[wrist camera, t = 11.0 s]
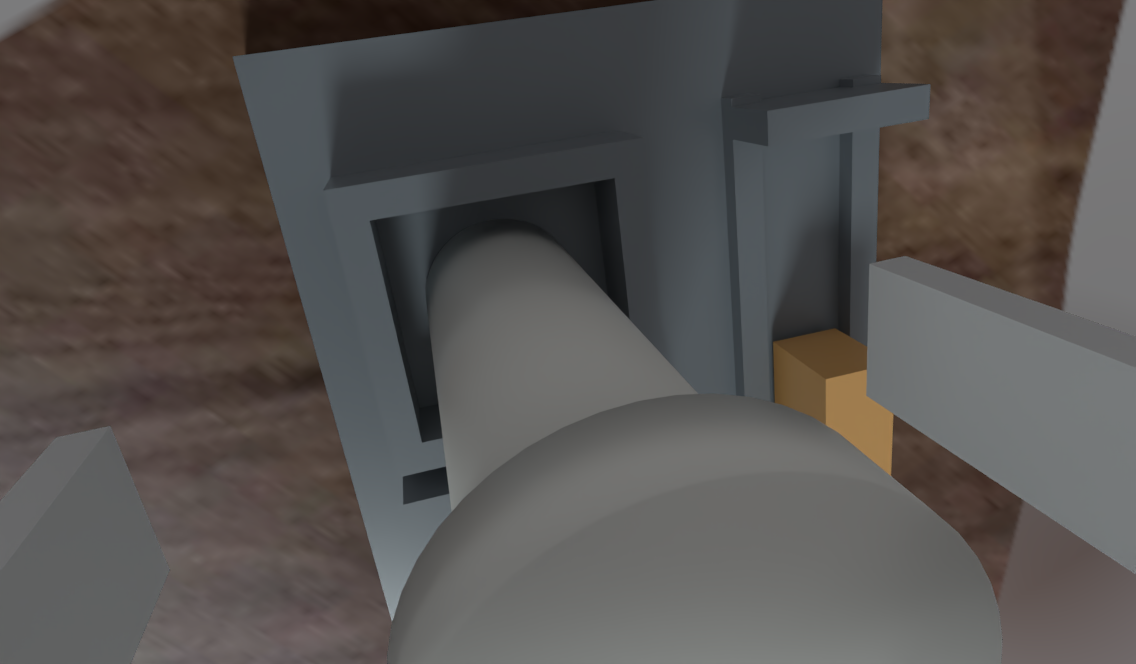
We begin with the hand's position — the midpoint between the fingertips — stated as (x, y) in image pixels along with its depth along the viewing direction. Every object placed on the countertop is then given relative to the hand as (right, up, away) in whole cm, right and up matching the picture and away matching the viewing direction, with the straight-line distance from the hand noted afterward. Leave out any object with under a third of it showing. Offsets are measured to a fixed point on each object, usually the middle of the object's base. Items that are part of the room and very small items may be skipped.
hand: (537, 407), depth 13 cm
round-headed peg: (-1, +2, +7) cm, 7 cm away
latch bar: (+8, -2, +10) cm, 13 cm away
